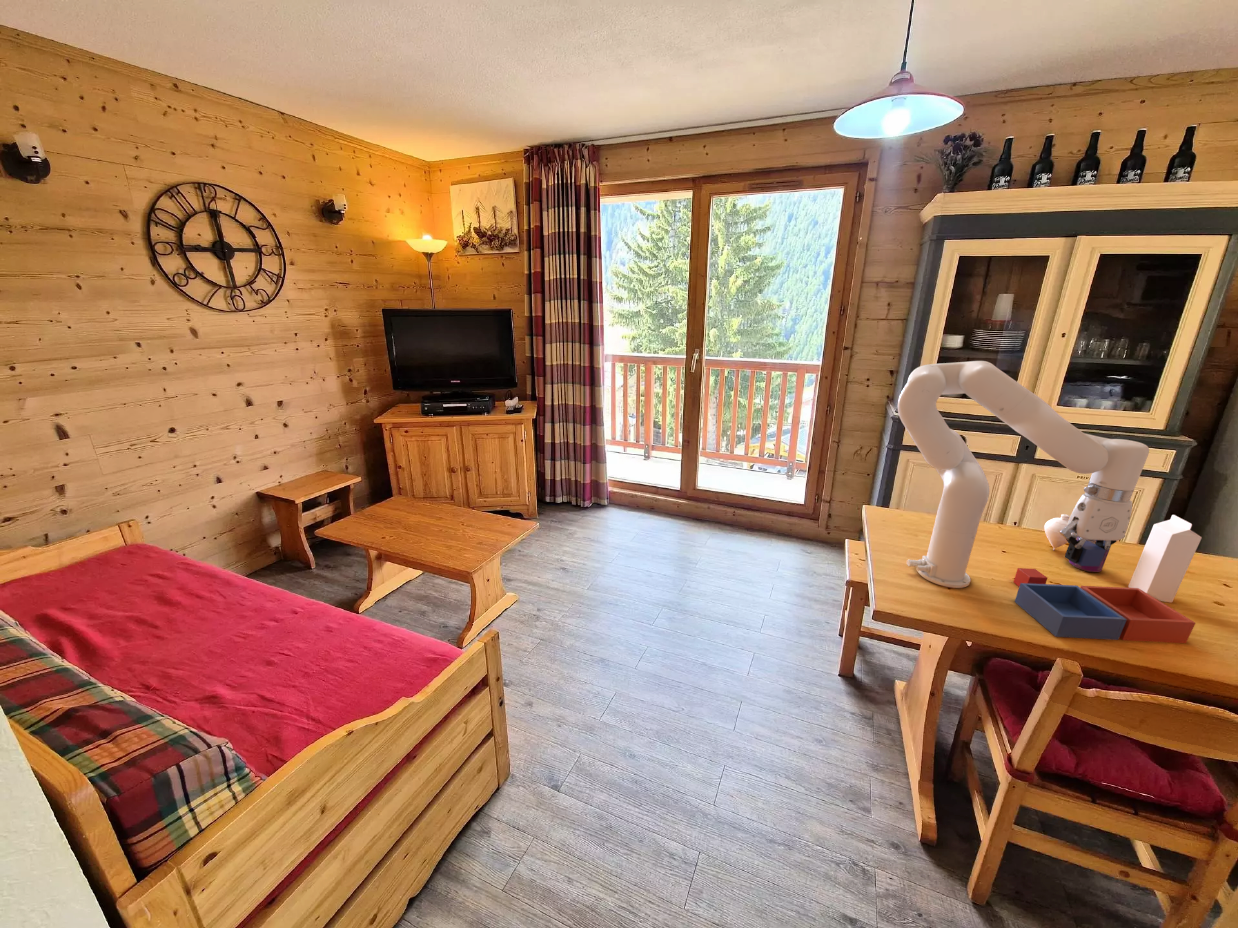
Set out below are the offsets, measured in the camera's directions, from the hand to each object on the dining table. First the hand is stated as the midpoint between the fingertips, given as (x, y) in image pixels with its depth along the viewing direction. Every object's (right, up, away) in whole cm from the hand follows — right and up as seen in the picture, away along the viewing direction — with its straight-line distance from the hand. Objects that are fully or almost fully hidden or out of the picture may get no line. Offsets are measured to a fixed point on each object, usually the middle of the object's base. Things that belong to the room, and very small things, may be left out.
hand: (1082, 560), depth 118 cm
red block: (-3, -10, +12) cm, 16 cm away
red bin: (+9, -15, -2) cm, 17 cm away
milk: (+27, -11, +9) cm, 30 cm away
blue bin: (-6, -14, -1) cm, 15 cm away
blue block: (0, 0, 0) cm, 0 cm away
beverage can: (+21, -7, +22) cm, 31 cm away
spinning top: (+21, -3, +31) cm, 38 cm away
